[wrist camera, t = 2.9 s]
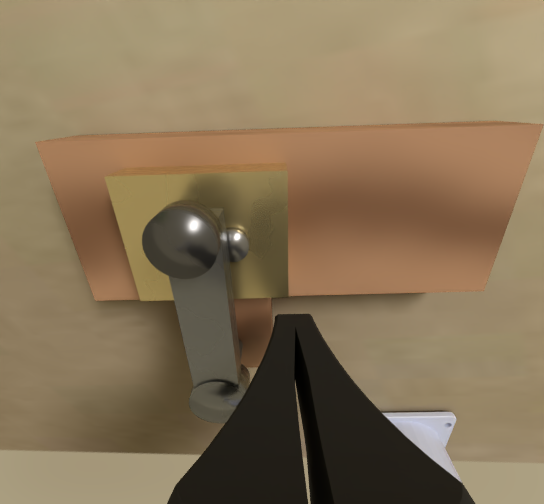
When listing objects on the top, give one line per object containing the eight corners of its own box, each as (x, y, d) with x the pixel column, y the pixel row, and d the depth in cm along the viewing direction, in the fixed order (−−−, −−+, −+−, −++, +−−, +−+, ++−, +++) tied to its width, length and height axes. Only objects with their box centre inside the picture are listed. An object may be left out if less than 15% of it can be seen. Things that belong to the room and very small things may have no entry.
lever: (251, 393, 14) (247, 442, 12) (201, 394, 14) (188, 443, 12) (231, 187, 9) (220, 210, 7) (157, 189, 9) (125, 213, 7)
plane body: (434, 330, 18) (479, 393, 14) (140, 336, 18) (104, 400, 14) (494, 120, 12) (594, 128, 8) (77, 135, 13) (-9, 148, 9)
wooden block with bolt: (286, 277, 13) (288, 303, 11) (154, 281, 13) (136, 307, 11) (285, 162, 11) (288, 173, 9) (125, 167, 11) (97, 179, 9)
